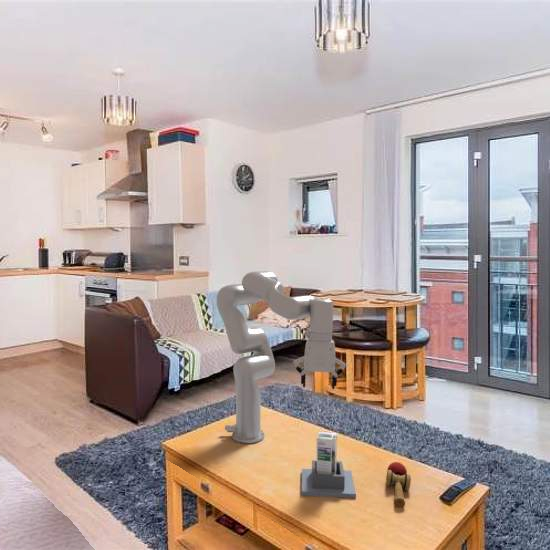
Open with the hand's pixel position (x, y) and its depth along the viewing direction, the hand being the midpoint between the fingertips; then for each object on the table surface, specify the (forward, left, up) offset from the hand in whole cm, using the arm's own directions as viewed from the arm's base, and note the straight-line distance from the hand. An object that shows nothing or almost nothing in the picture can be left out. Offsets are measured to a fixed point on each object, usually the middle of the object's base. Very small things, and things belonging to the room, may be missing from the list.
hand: (318, 387), depth 149 cm
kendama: (+24, -13, -28) cm, 39 cm away
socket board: (+3, -11, -28) cm, 30 cm away
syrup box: (+2, -10, -27) cm, 29 cm away
